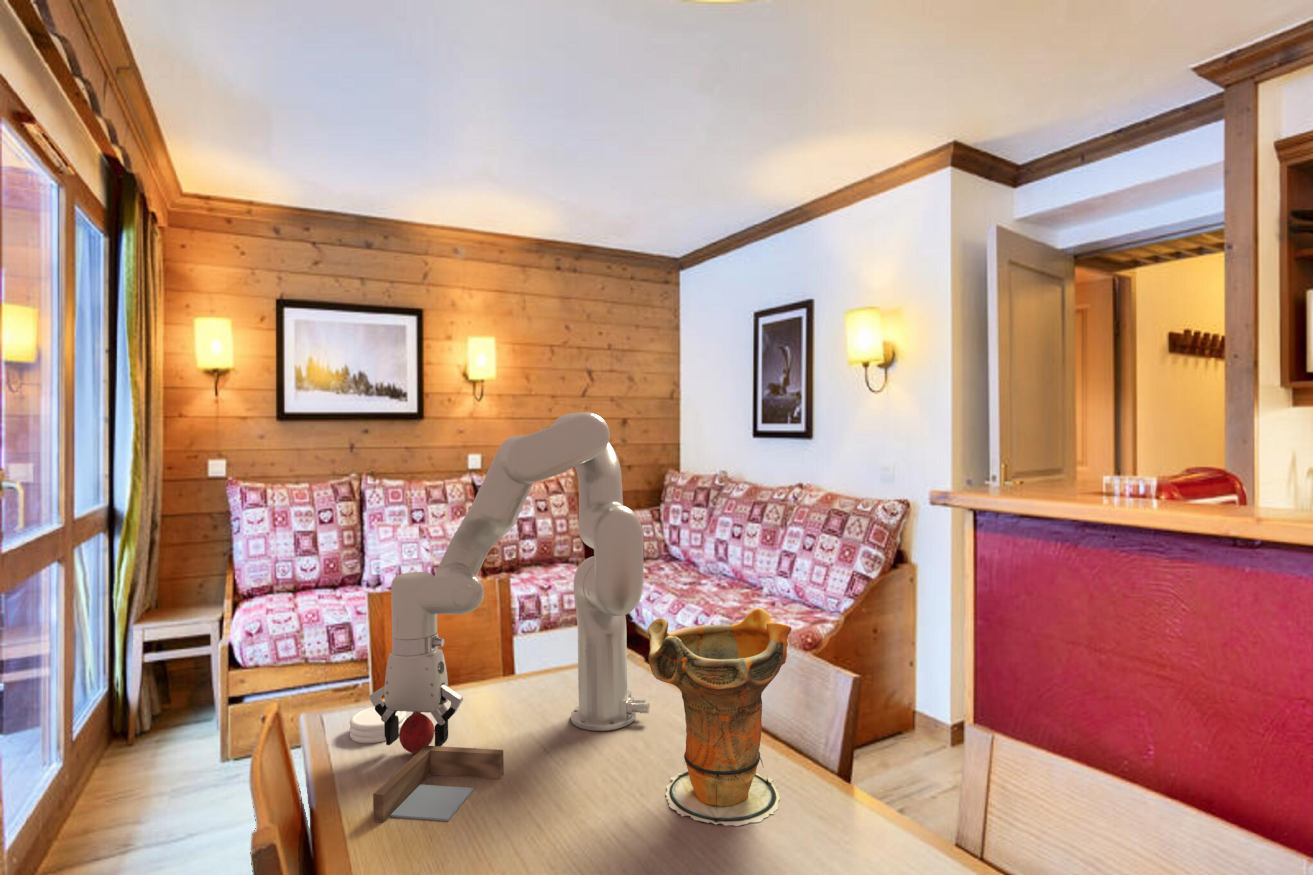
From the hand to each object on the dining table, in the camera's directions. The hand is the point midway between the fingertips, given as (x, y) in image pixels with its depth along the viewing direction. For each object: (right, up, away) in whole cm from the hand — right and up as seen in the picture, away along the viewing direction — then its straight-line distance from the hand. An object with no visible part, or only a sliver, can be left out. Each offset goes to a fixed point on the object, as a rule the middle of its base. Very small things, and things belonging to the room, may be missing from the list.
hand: (416, 742), depth 124 cm
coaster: (-11, -3, +10) cm, 15 cm away
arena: (+9, -2, -15) cm, 17 cm away
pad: (+8, -2, -16) cm, 18 cm away
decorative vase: (+52, -2, -15) cm, 55 cm away
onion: (0, -2, 0) cm, 2 cm away
